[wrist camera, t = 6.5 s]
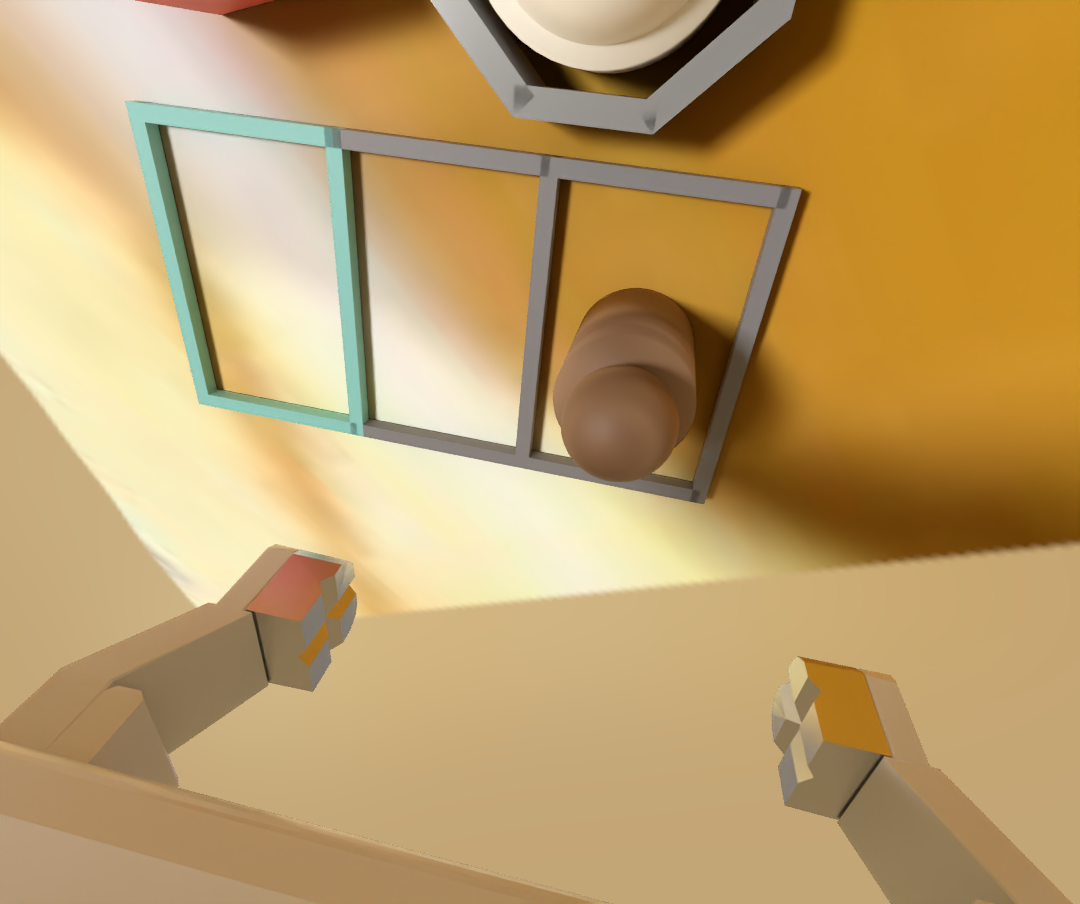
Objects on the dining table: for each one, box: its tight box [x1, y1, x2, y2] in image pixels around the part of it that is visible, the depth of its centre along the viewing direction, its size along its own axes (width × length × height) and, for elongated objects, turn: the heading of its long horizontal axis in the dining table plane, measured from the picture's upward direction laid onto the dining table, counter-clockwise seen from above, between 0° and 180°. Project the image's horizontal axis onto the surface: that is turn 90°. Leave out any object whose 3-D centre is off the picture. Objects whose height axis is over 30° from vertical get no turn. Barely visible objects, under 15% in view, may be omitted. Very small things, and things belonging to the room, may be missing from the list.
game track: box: [125, 101, 802, 504], centre depth 23 cm, size 23×12×1 cm, turn 84°
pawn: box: [553, 288, 697, 482], centre depth 19 cm, size 4×4×8 cm
